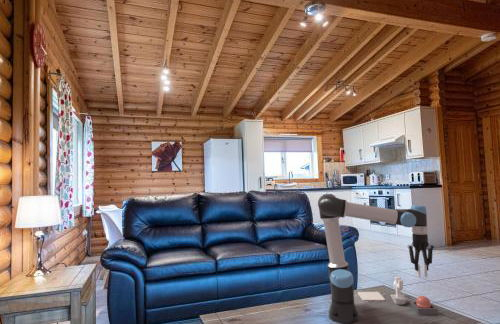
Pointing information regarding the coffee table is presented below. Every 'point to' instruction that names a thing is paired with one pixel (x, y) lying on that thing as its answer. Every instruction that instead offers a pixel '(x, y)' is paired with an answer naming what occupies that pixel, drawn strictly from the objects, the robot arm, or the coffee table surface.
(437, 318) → the coffee table surface
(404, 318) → the coffee table surface
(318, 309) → the coffee table surface
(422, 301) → the pink ball
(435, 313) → the housing
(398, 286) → the white faucet
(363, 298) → the game square
